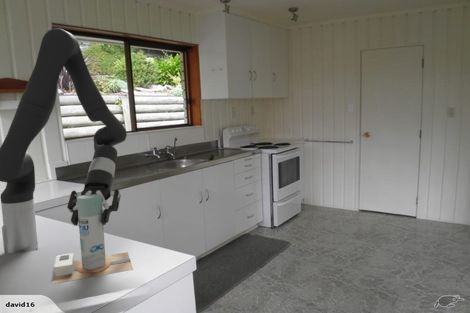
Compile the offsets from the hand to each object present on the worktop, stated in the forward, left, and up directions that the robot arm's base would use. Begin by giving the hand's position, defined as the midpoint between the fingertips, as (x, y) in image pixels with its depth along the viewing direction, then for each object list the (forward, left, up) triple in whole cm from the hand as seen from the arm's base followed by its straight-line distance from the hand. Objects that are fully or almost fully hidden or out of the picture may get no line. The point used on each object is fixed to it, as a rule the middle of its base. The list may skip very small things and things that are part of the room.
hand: (89, 223), depth 99 cm
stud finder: (-7, +3, -13) cm, 15 cm away
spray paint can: (+1, +2, -13) cm, 13 cm away
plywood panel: (+1, +1, -15) cm, 15 cm away
